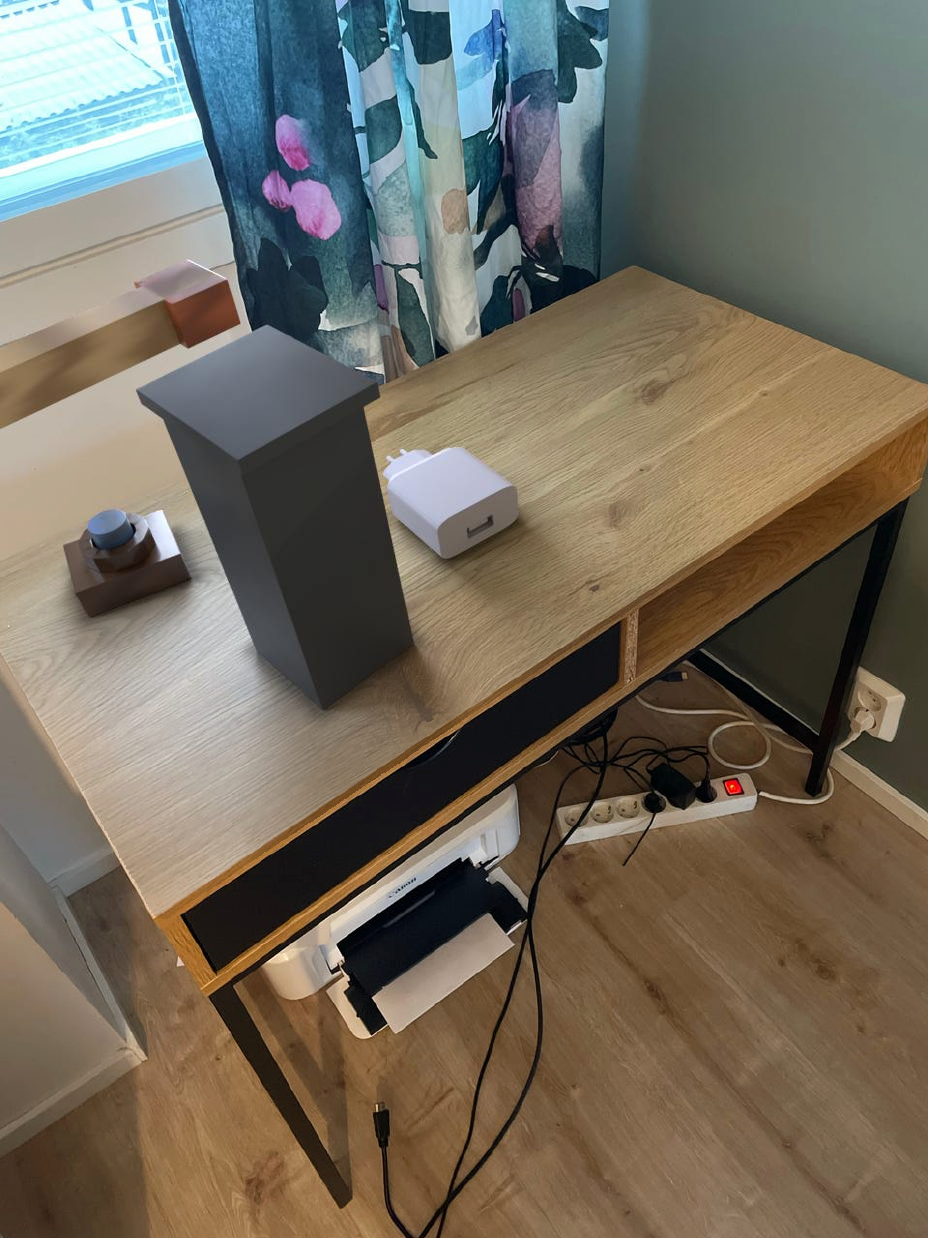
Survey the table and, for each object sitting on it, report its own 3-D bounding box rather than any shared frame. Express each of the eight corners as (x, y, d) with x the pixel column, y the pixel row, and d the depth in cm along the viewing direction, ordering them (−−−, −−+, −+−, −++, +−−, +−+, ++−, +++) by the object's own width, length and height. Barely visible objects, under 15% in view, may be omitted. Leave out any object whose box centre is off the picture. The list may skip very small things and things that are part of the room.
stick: (-97, 485, 49) (-129, 439, 46) (-126, 451, 51) (-157, 406, 49) (241, 323, 58) (227, 278, 56) (201, 302, 61) (187, 258, 59)
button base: (88, 617, 84) (66, 579, 81) (76, 568, 90) (54, 530, 86) (191, 578, 87) (174, 539, 83) (173, 533, 92) (156, 494, 88)
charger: (433, 454, 97) (519, 520, 88) (361, 491, 94) (442, 563, 84) (427, 417, 93) (516, 481, 84) (352, 453, 90) (436, 524, 81)
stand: (329, 724, 72) (237, 460, 54) (241, 645, 80) (135, 389, 61) (430, 648, 77) (377, 381, 58) (339, 580, 84) (267, 323, 66)
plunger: (99, 555, 83) (90, 539, 82) (93, 534, 86) (84, 517, 84) (137, 541, 84) (129, 525, 83) (130, 521, 86) (121, 504, 85)
